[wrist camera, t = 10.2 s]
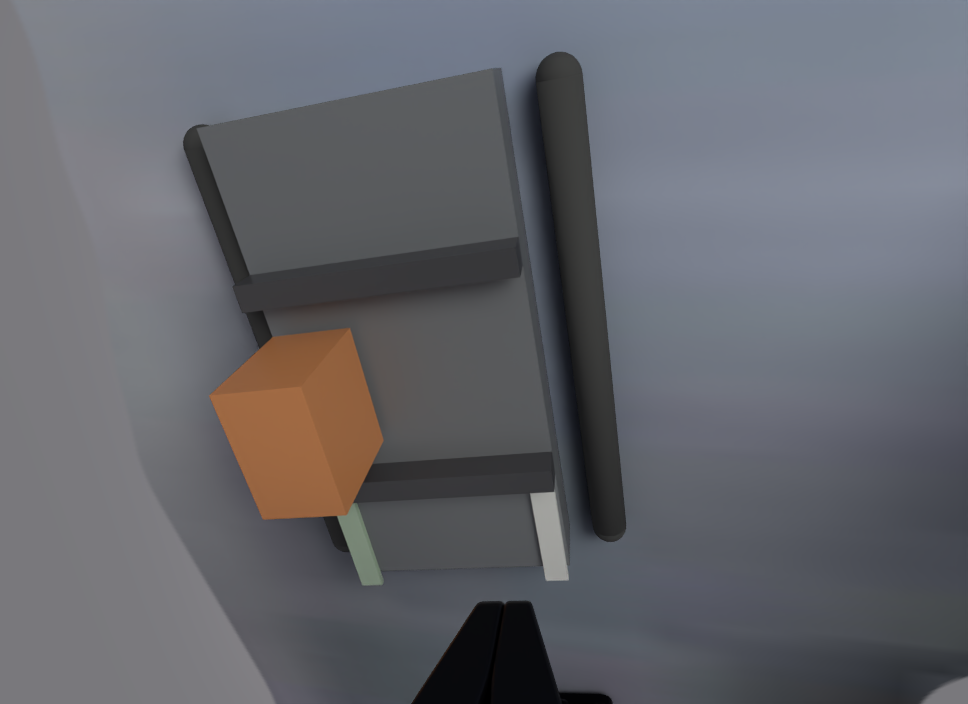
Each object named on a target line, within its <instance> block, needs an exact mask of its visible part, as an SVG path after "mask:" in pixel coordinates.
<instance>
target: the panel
mask: <svg viewBox="0 0 968 704" xmlns="http://www.w3.org/2000/svg"><path fill="white" fill-rule="evenodd" d="M197 131H198V134H199V137H200V139H201V142H202V145H203V148H204V150H205V153H206V156H207V158H208V161H209V164H210V167H211V169H212V172H213V175H214V178H215V180H216V183H217V186H218V189H219V191H220V194H221V197H222V200H223V202H224V205H225V208H226V211H227V213H228V216H229V219H230V222H231V224H232V227H233V230H234V233H235V235H236V238H237V241H238V244H239V246H240V249H241V252H242V255H243V257H244V260H245V263H246V266H247V268H248V271H249V274H250V275H249V276H248V277H246V278H245V279H243V280H242V281H240V282H239V283H237V284H236V285H234V286H233V289H234V292H235V295H236V297H237V300H238V303H239V305H240V308H241V310H242V313H247V312H255V311H262V310H263V312H264V315H265V318H266V320H267V323H268V326H269V329H270V331H271V334H272V337H276V336H285V335H293V334H301V333H310V332H318V331H327V330H335V329H344V328H350V330H351V333H352V336H353V340H354V343H355V346H356V350H357V353H358V356H359V360H360V363H361V366H362V370H363V373H364V376H365V380H366V383H367V386H368V390H369V393H370V396H371V400H372V403H373V406H374V410H375V413H376V416H377V420H378V423H379V426H380V430H381V433H382V436H383V440H384V441H383V443H382V445H381V447H380V449H379V451H378V453H377V455H376V457H375V459H374V461H373V463H372V465H371V467H370V469H369V471H368V473H367V475H366V477H365V479H364V481H363V483H362V485H361V487H360V489H359V491H358V494H357V496H356V498H355V500H354V502H353V504H352V506H351V508H350V510H349V512H348V514H347V515H343V516H337V517H338V520H339V523H340V526H341V528H342V531H343V534H344V536H345V539H346V542H347V545H348V547H349V550H350V553H351V556H352V558H353V561H354V564H355V567H356V569H357V572H358V575H359V578H360V580H361V583H362V586H363V585H382V584H383V581H384V580H383V577H382V574H381V571H402V570H434V569H467V568H500V567H533V566H543V567H544V573H545V578H546V581H558V580H568V579H569V576H568V569H567V565H570V524H569V517H568V511H567V504H566V497H565V491H564V484H563V477H562V471H561V464H560V457H559V451H558V444H557V437H556V431H555V424H554V417H553V411H552V404H551V397H550V391H549V384H548V377H547V371H546V364H545V357H544V351H543V344H542V337H541V331H540V324H539V317H538V311H537V304H536V297H535V291H534V284H533V277H532V271H531V264H530V257H529V251H528V244H527V237H526V231H525V224H524V217H523V211H522V204H521V197H520V191H519V184H518V177H517V171H516V164H515V157H514V151H513V144H512V137H511V131H510V124H509V117H508V111H507V104H506V97H505V91H504V84H503V77H502V71H501V68H494V69H488V70H483V71H478V72H473V73H468V74H463V75H458V76H453V77H448V78H443V79H438V80H433V81H428V82H423V83H419V84H414V85H409V86H404V87H399V88H394V89H389V90H384V91H379V92H374V93H369V94H364V95H359V96H354V97H349V98H344V99H339V100H334V101H329V102H324V103H319V104H315V105H310V106H305V107H300V108H295V109H290V110H285V111H280V112H275V113H270V114H265V115H260V116H255V117H250V118H245V119H240V120H235V121H230V122H225V123H220V124H215V125H210V126H206V127H201V128H197Z"/></svg>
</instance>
